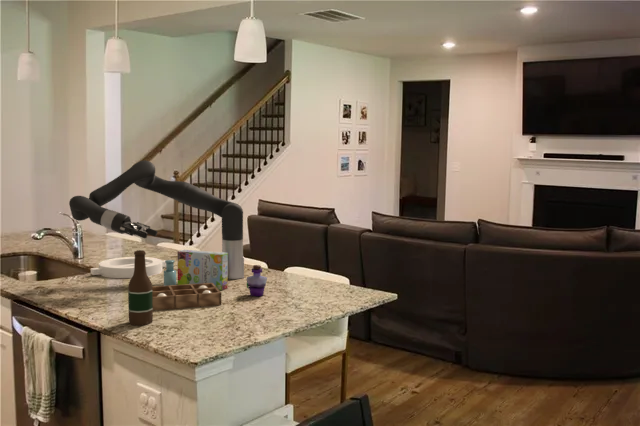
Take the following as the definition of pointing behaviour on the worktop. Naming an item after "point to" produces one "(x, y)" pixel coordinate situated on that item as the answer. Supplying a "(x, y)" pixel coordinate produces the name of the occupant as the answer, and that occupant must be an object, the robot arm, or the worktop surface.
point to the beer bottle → (140, 293)
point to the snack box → (203, 268)
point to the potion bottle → (256, 282)
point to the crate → (185, 296)
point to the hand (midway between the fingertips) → (151, 234)
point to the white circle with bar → (127, 267)
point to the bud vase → (169, 273)
